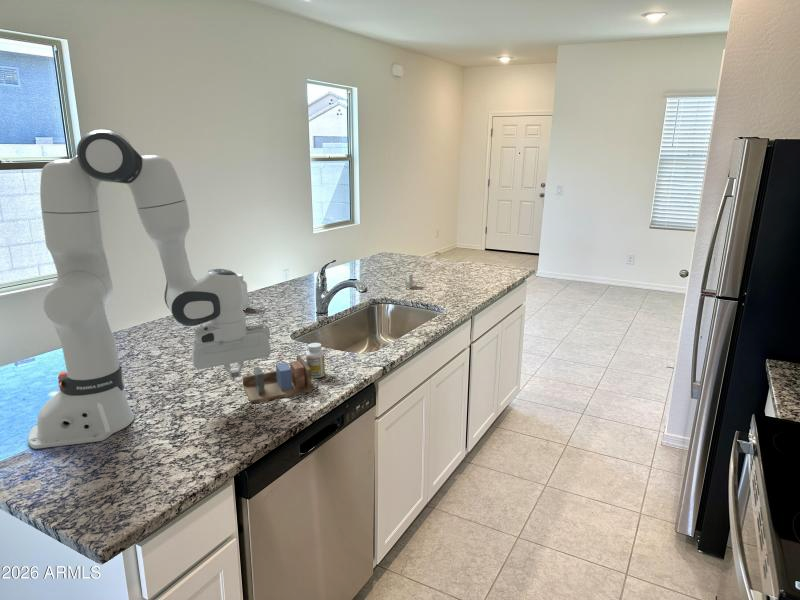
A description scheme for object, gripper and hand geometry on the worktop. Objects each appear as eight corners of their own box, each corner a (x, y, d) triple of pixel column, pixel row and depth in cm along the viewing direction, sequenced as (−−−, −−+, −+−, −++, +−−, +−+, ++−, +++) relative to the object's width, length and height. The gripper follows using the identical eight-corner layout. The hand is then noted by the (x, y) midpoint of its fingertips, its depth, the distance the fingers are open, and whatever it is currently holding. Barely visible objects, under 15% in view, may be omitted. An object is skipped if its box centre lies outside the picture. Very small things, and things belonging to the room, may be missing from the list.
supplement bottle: (316, 370, 167) (315, 340, 164) (328, 374, 163) (327, 344, 161) (303, 375, 163) (301, 345, 160) (315, 380, 159) (313, 349, 157)
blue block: (281, 391, 150) (280, 371, 149) (277, 383, 155) (275, 364, 153) (292, 389, 151) (291, 369, 150) (287, 381, 156) (286, 362, 155)
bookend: (259, 395, 148) (257, 374, 146) (255, 387, 152) (253, 367, 151) (264, 393, 148) (263, 373, 147) (260, 386, 153) (259, 366, 151)
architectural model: (402, 289, 264) (402, 275, 262) (406, 286, 270) (406, 272, 268) (409, 290, 263) (409, 275, 261) (413, 287, 269) (413, 272, 267)
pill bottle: (252, 308, 232) (250, 274, 228) (238, 312, 225) (235, 278, 221) (240, 305, 236) (237, 272, 232) (225, 309, 229) (222, 275, 225)
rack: (250, 403, 145) (248, 380, 143) (243, 386, 155) (241, 365, 153) (311, 391, 152) (310, 369, 150) (300, 376, 162) (299, 355, 160)
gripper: (266, 319, 149) (270, 365, 153) (188, 331, 141) (195, 380, 145) (271, 326, 144) (275, 373, 148) (190, 339, 135) (197, 389, 139)
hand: (235, 377), depth 146 cm, fingers closed
